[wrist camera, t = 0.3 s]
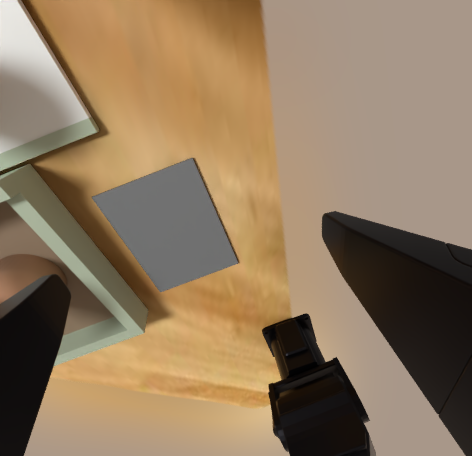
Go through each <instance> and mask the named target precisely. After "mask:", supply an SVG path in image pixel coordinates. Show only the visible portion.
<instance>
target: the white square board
mask: <svg viewBox="0 0 472 456" xmlns="http://www.w3.org/2000/svg"><path fill="white" fill-rule="evenodd" d="M98 131H100V130H99V128H98V126H97V125H96V123H95V121H94V120H93V118H92V116H91V115H90V113H89V111H88V110H87V108H86V107H85V105H84V103H83V102H82V100H81V98H80V97H79V95H78V93H77V92H76V90H75V88H74V87H73V85H72V83H71V82H70V80H69V78H68V77H67V75H66V73H65V72H64V70H63V69H62V67H61V65H60V64H59V62H58V60H57V59H56V57H55V55H54V54H53V52H52V50H51V49H50V47H49V45H48V44H47V42H46V40H45V39H44V37H43V36H42V34H41V32H40V31H39V29H38V27H37V26H36V24H35V22H34V21H33V19H32V17H31V16H30V14H29V12H28V11H27V9H26V7H25V6H24V4H23V2H22V1H21V0H0V171H2V170H4V169H7V168H9V167H12V166H14V165H17V164H19V163H22V162H24V161H26V160H29V159H31V158H34V157H36V156H39V155H41V154H44V153H46V152H49V151H51V150H54V149H56V148H59V147H61V146H64V145H66V144H69V143H71V142H74V141H76V140H79V139H81V138H84V137H86V136H89V135H91V134H94V133H96V132H98Z"/></svg>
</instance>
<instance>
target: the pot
mask: <svg viewBox="0 0 472 456" xmlns="http://www.w3.org/2000/svg"><path fill="white" fill-rule="evenodd" d="M51 274H57V275H59V276H60V278H61V279H62V280H63V282H64V283H65V285H66V286H67V278H66V276H65V274H64V272H63V271H62V270H61V269H60V268H59V267H58V266H57V265H55V264H54V263H53V262H51V261H49V260H47V259H45V258H42V257H39V256H35V255H30V254H14V255H10V256H6V257H4V258H2V259H1V260H0V304H1V303H2V302H4V301H5V300H7V299H8V298H10V297H11V296H13V295H14V294H16V293H17V292H19V291H21V290H22V289H24V288H25V287H27V286H28V285H30V284H31V283H33V282H34V281H36V280H37V279H39V278H40V277H42V276H46V275H51Z"/></svg>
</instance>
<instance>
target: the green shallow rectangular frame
mask: <svg viewBox="0 0 472 456" xmlns="http://www.w3.org/2000/svg"><path fill="white" fill-rule="evenodd" d="M14 254H30V255H35V256H39V257H42V258H45V259H47V260H49V261H51V262H53V263H54V264H55V265H57V266H58V267H59V268H60V269H61V270H62V271H63V272H64V274H65V276H66V278H67V287H68V289H69V290H70V292H71V302H70V307H69V311H68V316H67V320H66V325H65V329H64V334H63V338H62V342H61V345H60V348H59V352H58V355H57V358H56V361H55V364H54V366H56V365H58V364H61V363H64V362H67V361H69V360H72V359H75V358H77V357H80V356H83V355H86V354H88V353H91V352H94V351H97V350H99V349H102V348H105V347H108V346H110V345H113V344H116V343H118V342H121V341H124V340H127V339H129V338H132V337H135V336H138V335H140V334H143V333H145V327H146V322H147V316H148V309H147V308H146V307H145V305H144V304H143V303H142V302H141V300H140V299H139V298H138V297H137V295H136V294H135V293H134V292H133V290H132V289H131V288H130V287H129V286H128V284H127V283H126V282H125V281H124V279H123V278H122V277H121V276H120V274H119V273H118V272H117V271H116V269H115V268H114V267H113V266H112V264H111V263H110V262H109V261H108V260H107V258H106V257H105V256H104V255H103V253H102V252H101V251H100V250H99V248H98V247H97V246H96V245H95V243H94V242H93V241H92V240H91V239H90V237H89V236H88V235H87V234H86V232H85V231H84V230H83V229H82V227H81V226H80V225H79V224H78V222H77V221H76V220H75V219H74V217H73V216H72V215H71V214H70V213H69V211H68V210H67V209H66V208H65V206H64V205H63V204H62V203H61V201H60V200H59V199H58V198H57V196H56V195H55V194H54V193H53V191H52V190H51V189H50V188H49V187H48V185H47V184H46V183H45V182H44V180H43V179H42V178H41V177H40V175H39V174H38V173H37V172H36V170H35V169H34V168H33V167H32V165H31V164H27V165H25V166H22V167H20V168H17V169H15V170H12V171H10V172H7V173H5V174H2V175H0V260H1V259H2V258H4V257H6V256H10V255H14Z"/></svg>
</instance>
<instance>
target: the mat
mask: <svg viewBox="0 0 472 456" xmlns="http://www.w3.org/2000/svg"><path fill="white" fill-rule="evenodd" d="M92 199H93V200H94V201H95V203H96V204H97V206H98V207H99V208H100V210H101V211H102V213H103V214H104V215H105V217H106V218H107V219H108V221H109V222H110V224H111V225H112V226H113V228H114V229H115V230H116V232H117V233H118V235H119V236H120V237H121V239H122V240H123V241H124V243H125V244H126V246H127V247H128V248H129V250H130V251H131V253H132V254H133V255H134V257H135V258H136V259H137V261H138V262H139V264H140V265H141V266H142V268H143V269H144V270H145V272H146V273H147V275H148V276H149V277H150V279H151V280H152V281H153V283H154V284H155V286H156V287H157V288H158V290H159V291H160V292H163V291H165V290H168V289H171V288H173V287H176V286H179V285H181V284H184V283H187V282H189V281H192V280H195V279H198V278H200V277H203V276H206V275H208V274H211V273H214V272H216V271H219V270H222V269H224V268H227V267H230V266H232V265H235V264H238V261H237V258H236V256H235V254H234V252H233V249H232V247H231V245H230V242H229V240H228V238H227V236H226V233H225V231H224V229H223V226H222V224H221V222H220V220H219V217H218V215H217V213H216V210H215V208H214V206H213V204H212V201H211V199H210V197H209V194H208V192H207V190H206V187H205V185H204V183H203V181H202V178H201V176H200V174H199V171H198V169H197V167H196V165H195V162H194V160H193V158H190V159H188V160H185V161H183V162H180V163H177V164H175V165H172V166H170V167H167V168H165V169H162V170H160V171H157V172H154V173H152V174H149V175H147V176H144V177H142V178H139V179H136V180H134V181H131V182H129V183H126V184H124V185H121V186H119V187H116V188H113V189H111V190H108V191H106V192H103V193H101V194H98V195H96V196H93V197H92Z"/></svg>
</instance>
